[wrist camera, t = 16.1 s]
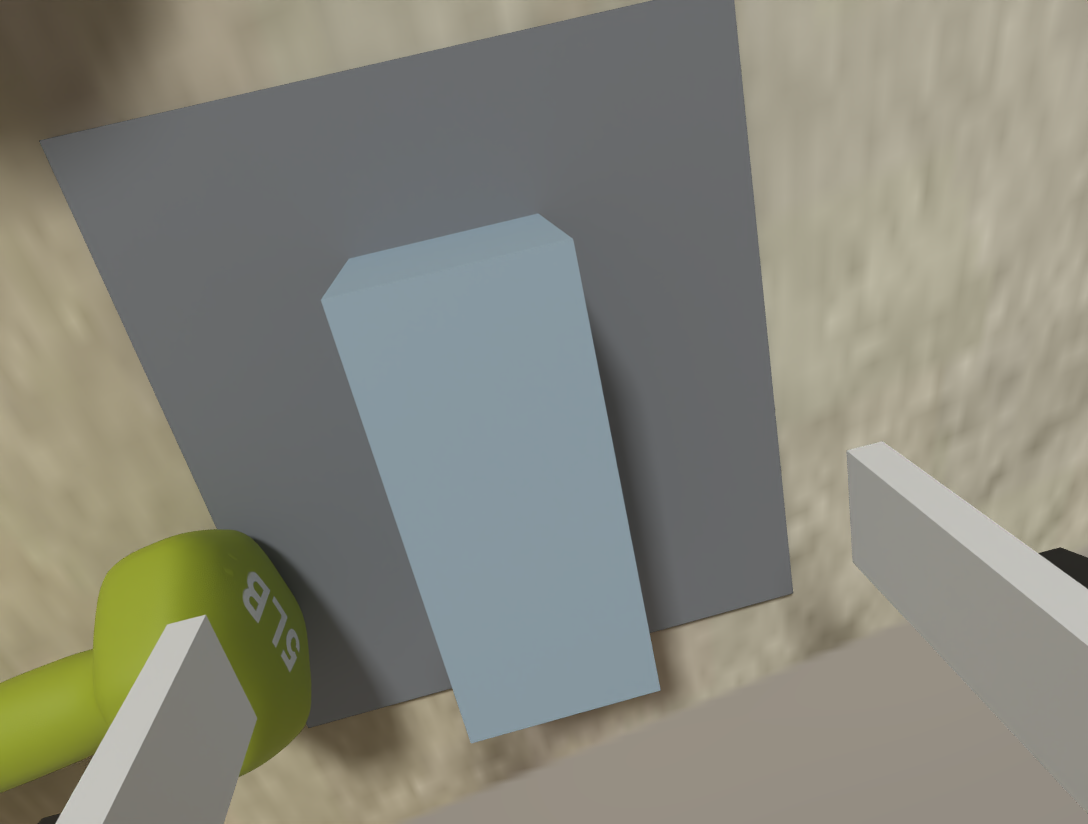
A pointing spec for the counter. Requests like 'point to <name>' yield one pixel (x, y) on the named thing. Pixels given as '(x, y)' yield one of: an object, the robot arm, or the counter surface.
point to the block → (499, 467)
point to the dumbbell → (133, 631)
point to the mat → (434, 211)
